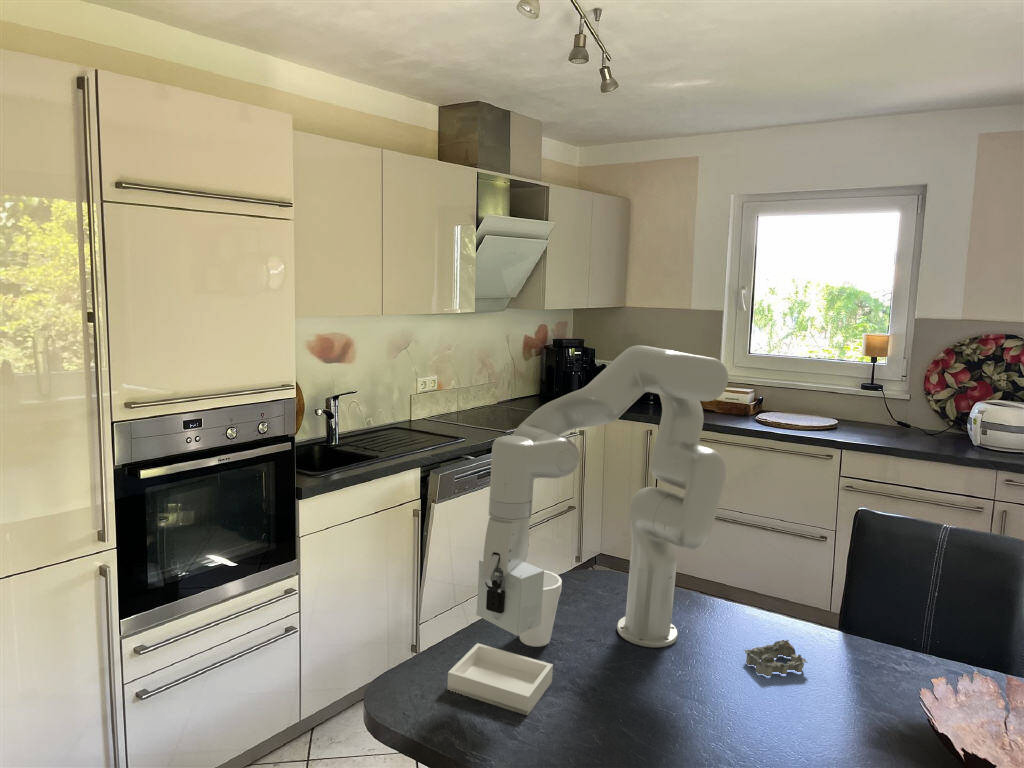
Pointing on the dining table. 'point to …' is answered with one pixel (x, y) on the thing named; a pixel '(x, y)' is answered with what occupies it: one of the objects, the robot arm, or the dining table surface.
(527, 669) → the trough
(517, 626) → the skincare box
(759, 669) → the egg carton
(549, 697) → the dining table surface
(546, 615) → the foam cup
